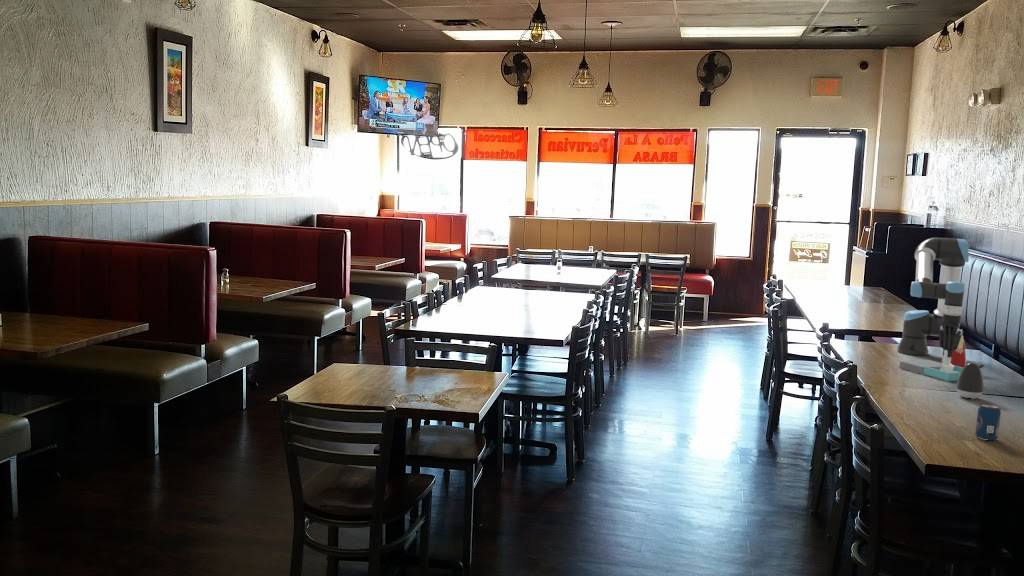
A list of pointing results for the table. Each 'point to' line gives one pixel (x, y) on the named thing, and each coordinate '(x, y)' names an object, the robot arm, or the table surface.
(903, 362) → the grey flat slab
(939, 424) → the table surface
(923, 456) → the table surface
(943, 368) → the back tile
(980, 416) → the soda can
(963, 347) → the milk carton
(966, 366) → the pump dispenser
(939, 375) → the tray
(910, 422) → the table surface
